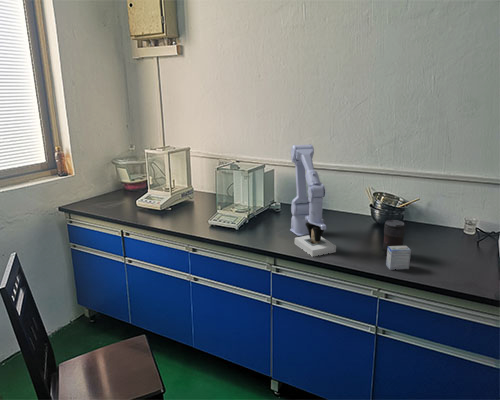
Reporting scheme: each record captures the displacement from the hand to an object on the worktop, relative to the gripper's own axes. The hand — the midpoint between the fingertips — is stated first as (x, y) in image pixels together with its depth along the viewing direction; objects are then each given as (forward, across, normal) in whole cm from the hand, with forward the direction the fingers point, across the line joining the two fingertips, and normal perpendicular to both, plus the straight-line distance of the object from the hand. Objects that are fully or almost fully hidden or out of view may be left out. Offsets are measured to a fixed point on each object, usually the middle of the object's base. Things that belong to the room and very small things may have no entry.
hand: (314, 239), depth 182 cm
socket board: (+4, 0, 0) cm, 4 cm away
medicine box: (+4, -31, -20) cm, 37 cm away
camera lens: (+4, -21, -26) cm, 34 cm away
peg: (+2, 0, 0) cm, 2 cm away
